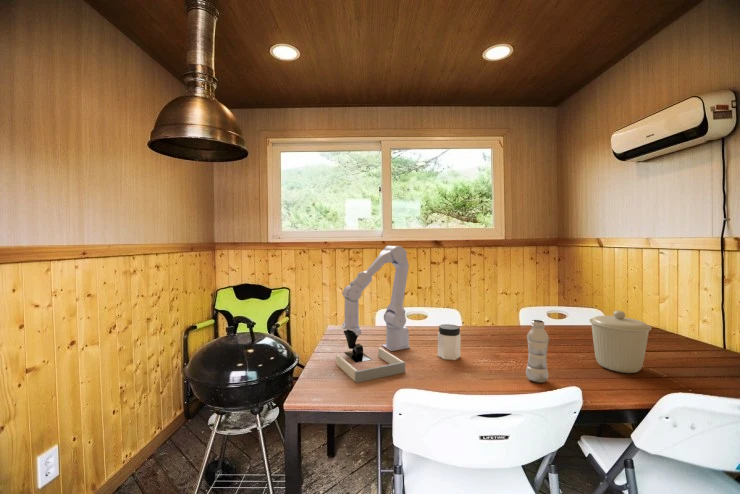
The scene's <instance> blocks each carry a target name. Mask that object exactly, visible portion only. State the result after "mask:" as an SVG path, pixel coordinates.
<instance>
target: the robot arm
mask: <svg viewBox="0 0 740 494" xmlns="http://www.w3.org/2000/svg"><path fill="white" fill-rule="evenodd" d="M407 255H408V252H407V251H406V249H405V248H404V246H403V247H402V246H401V245H387V246H385V247H384V248H383V249H381V250H380V253H379V254H378V256H377V257H376V258H375V259H374V260H373V262H372V263H371V264H370V266H369V267H368V268H367V269H366V270H363V271H361V272H358V273H357V274H356V275H357V276H356V277H355V278H354V279H353V281H350V282H349V285H347V286H345V287H344V288H343V291H342V293H341V294H342V296H343V298H344V321H343V322H342V326H341V329H342V330H343V334H344V335H345V339H346V342H347V347H348V349H349V350H353V344H357V340H358V337H359V336H361V335H362V329H361V327H360V325H359V323H360V322H359V321H360V319H359V317H360V316H359V313H360V312H359V311H360V309H359V308H360V307H359V306H360V304H359V300H360V298H361V297H362V292H363V291H364V290H365V289H366V288H367V287H368V286H369V285H370V284H371V282H372V281H373V276H374V275H375V274H376V273H378V271H379V270H380V269H381V268H382V267H383V266H384V265H386V264H388V263H389V264H390V263H391V264H392V265H393V267H394V268H395V272H394V279H393V286H392V290H391V297H390V303H389V304H388V305H387V306H386V311H385V312H384V313H383V320H384V322H385V324H386V327H385V332H386V333H385V336H386V337H385V338H386V339H385V343H383V344H382V345H381V346H382V347H384V348H385V349H386V350H389V351H390V352H393V351H398V350H399V351H401V350H406V349H410V348H411V347H410V332H409V329H408V327H407V326H406V322H407V318H406V310H405V308H404V300H405V293H406V287H407V280H408V274H409V267H410V264H409V261H408V260H409V259H408V257H407Z"/></svg>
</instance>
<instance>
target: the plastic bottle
mask: <svg viewBox="0 0 740 494" xmlns="http://www.w3.org/2000/svg"><path fill="white" fill-rule="evenodd" d="M545 327H546V326H545V321H544V320H541V319H533V320H531V328H530V329H529V331H528V332H527V335H526V339H527V346H528V358H527V365H526V368H525V374H526V378H527V379H528V380H530V381H532V382H535V383H545V382H547V380H548V377H549V371H548V369H549V368H548V364H547V363H548V361H547V356H548V355H547V354H548V347H549V346H548V345H549V342H550V338H549V334H548V333H547V331H546V330H545Z"/></svg>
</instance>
